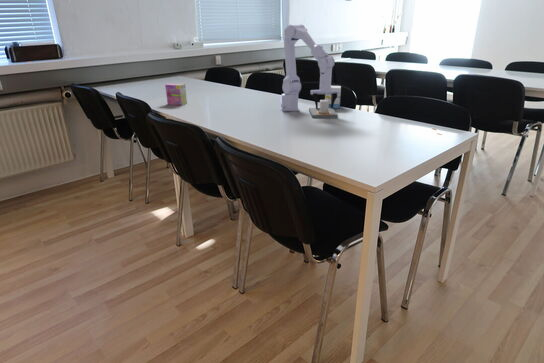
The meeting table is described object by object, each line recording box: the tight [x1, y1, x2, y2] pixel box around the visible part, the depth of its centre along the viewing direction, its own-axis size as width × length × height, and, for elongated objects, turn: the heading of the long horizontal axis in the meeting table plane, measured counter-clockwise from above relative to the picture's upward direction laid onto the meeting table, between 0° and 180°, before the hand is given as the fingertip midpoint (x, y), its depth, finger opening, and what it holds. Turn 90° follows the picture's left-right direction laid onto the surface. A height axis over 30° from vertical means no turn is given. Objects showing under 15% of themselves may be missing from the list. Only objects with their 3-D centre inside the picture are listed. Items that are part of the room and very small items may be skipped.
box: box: [164, 82, 188, 106], centre depth 224 cm, size 10×6×12 cm, turn 68°
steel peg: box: [319, 99, 329, 114], centre depth 195 cm, size 4×4×8 cm
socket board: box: [308, 107, 339, 119], centre depth 200 cm, size 13×18×2 cm
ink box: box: [324, 85, 342, 110], centre depth 216 cm, size 8×8×12 cm
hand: (324, 108), depth 195 cm, fingers open, 7 cm apart
